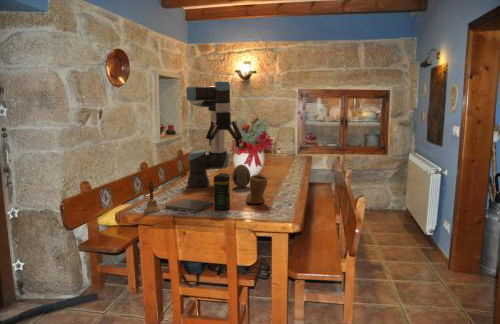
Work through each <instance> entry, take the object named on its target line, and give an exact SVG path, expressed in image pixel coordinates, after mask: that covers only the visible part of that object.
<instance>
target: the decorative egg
mask: <svg viewBox="0 0 500 324" xmlns="http://www.w3.org/2000/svg"><path fill="white" fill-rule="evenodd" d="M251 177H252V176H251V172H250V170H249V168H248V167H247V165H244V164H239V165H236V167H235V168H234V169H233V172H232V181H233V183H234V185H235V186H236V187H238V188H245V187H247V186H248V185H250V179H251Z"/></svg>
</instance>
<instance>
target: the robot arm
mask: <svg viewBox="0 0 500 324" xmlns="http://www.w3.org/2000/svg"><path fill="white" fill-rule="evenodd" d="M230 84H231V83H230V82H229V81H228V80H218V81H215V83H214V85H209V86H208V85H207V86H203V85H202V86H194V85H193V86H187V87H186V89H185V91H186V100H187V101H188V102H189V103H191V104H192V105H193V106H196V107H199V108H207V110H208V111H209V113H210V126H209V128H208V131H207V134H206V137H205V139H206V140H209V141H208V142H209V147H210V148H209V150H208V152H207V151H206V149H202V150H195V151H192V152H190V153H189V154H188V172H189V175H188V178H187V182H186V186H187V185H188V186H190V187H189V188H205V187H209V186H210V185H211V184H210V183H211V182H210V179H209V176H208V174H207V173H208V172H207V170H222V169H223V170H224V169H228V166H229V161H230V153H229V151H227V150H228V149H227V148H226V147H225V131H228V132H229V134H230V135H231V136H232V138H233V139H234V140H233V150H234V152H233V154H235V155H236V154H239V147H240V140H243V136H242V133H241V131H240V129H239V127H238V125H237V121H236V120H233V121H231V120H232V119H231V117H232V115H231V87H230V86H231V85H230ZM188 186H187V187H188Z"/></svg>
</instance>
